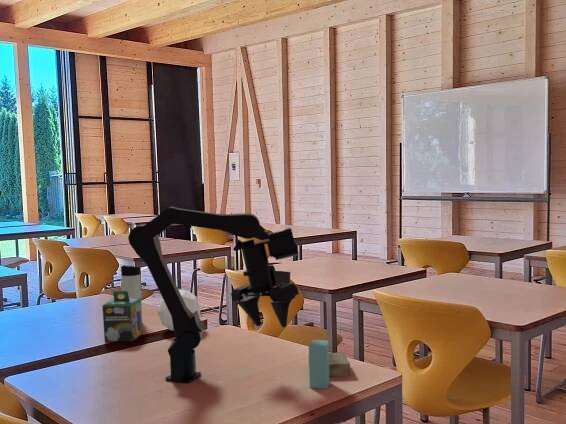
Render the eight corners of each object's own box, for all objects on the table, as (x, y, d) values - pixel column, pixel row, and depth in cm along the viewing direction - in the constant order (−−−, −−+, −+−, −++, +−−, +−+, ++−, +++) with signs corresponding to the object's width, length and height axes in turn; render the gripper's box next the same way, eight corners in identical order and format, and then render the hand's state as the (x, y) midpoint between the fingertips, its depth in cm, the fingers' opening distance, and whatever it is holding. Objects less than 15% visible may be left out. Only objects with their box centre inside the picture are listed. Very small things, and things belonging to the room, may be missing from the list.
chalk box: (143, 333, 185) (141, 287, 184) (133, 342, 176) (131, 293, 175) (114, 333, 186) (112, 287, 185) (103, 342, 177) (101, 293, 176)
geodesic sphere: (169, 322, 175) (188, 281, 181) (139, 316, 184) (158, 277, 190) (197, 341, 185) (215, 302, 191) (168, 335, 193) (185, 298, 199)
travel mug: (118, 325, 196) (115, 265, 195) (132, 320, 202) (129, 262, 201) (132, 327, 193) (130, 266, 192) (146, 322, 199) (143, 263, 198)
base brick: (313, 379, 141) (312, 365, 141) (308, 367, 150) (308, 354, 150) (350, 377, 142) (349, 363, 142) (343, 365, 151) (343, 352, 151)
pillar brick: (309, 387, 135) (308, 344, 134) (312, 381, 139) (311, 340, 138) (327, 388, 134) (326, 345, 133) (329, 382, 138) (328, 340, 137)
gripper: (306, 253, 141) (321, 316, 142) (256, 257, 155) (269, 314, 156) (274, 266, 134) (289, 332, 135) (223, 269, 147) (237, 329, 148)
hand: (271, 326), depth 143 cm, fingers open, 9 cm apart
